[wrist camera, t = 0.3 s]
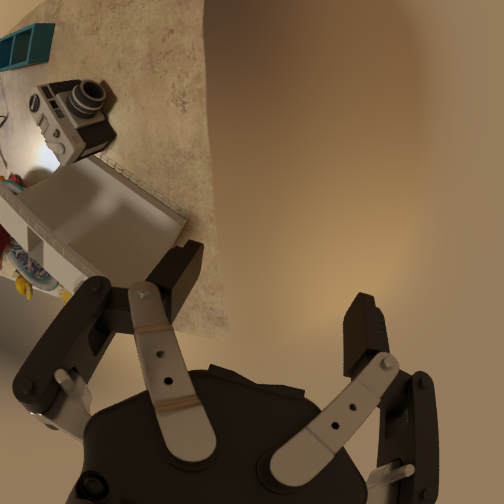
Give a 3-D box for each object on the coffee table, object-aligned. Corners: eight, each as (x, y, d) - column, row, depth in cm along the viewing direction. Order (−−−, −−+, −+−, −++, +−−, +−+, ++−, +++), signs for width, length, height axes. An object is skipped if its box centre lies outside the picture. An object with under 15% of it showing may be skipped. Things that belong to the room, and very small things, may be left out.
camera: (132, 126, 35) (84, 143, 27) (98, 155, 39) (54, 176, 31) (97, 58, 30) (48, 62, 22) (67, 92, 34) (21, 103, 25)
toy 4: (51, 285, 63) (74, 309, 68) (45, 294, 60) (68, 318, 65) (80, 270, 55) (107, 300, 60) (72, 280, 52) (101, 310, 57)
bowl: (16, 218, 52) (-9, 236, 44) (31, 140, 39) (-4, 155, 32) (75, 283, 58) (52, 308, 50) (104, 217, 45) (70, 244, 37)
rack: (17, 37, 27) (-1, 39, 23) (55, 23, 26) (35, 23, 22) (12, 69, 31) (-6, 73, 27) (48, 61, 30) (27, 64, 26)
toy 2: (29, 261, 65) (33, 308, 61) (8, 258, 58) (10, 307, 54) (39, 245, 61) (41, 296, 56) (15, 241, 54) (16, 294, 50)
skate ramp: (173, 244, 45) (200, 198, 39) (92, 349, 26) (102, 306, 21) (69, 167, 41) (82, 119, 36) (-29, 228, 23) (-35, 168, 17)
